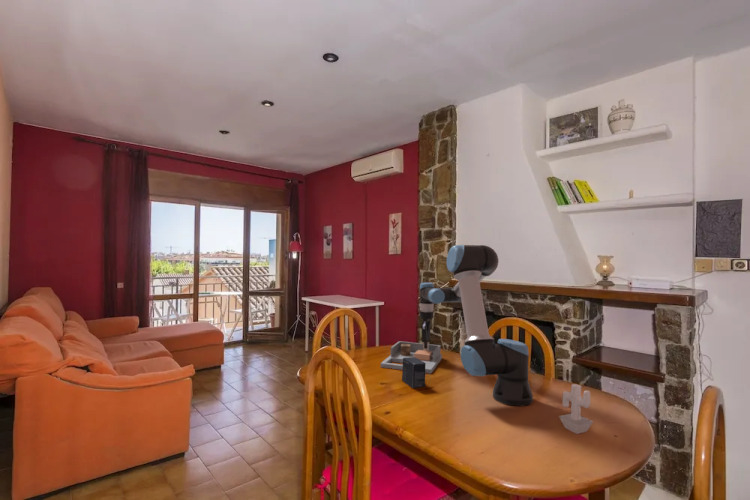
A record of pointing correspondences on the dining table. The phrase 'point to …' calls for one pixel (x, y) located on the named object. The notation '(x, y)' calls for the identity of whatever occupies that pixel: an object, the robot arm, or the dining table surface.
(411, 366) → the box
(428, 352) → the terracotta tile
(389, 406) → the dining table surface
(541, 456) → the dining table surface
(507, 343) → the robot arm
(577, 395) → the figurine
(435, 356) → the cubby deck
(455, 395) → the dining table surface
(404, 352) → the walnut block
